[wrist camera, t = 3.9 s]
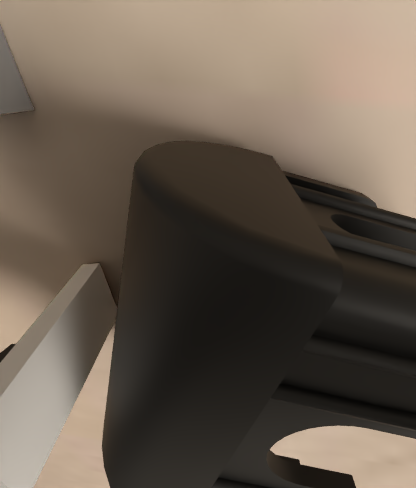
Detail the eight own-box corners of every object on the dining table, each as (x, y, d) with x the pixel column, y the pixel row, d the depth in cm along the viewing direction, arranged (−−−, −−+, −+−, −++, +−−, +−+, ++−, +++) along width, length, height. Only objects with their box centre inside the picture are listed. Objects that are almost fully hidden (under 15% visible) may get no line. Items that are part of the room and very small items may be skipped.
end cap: (174, 123, 8) (54, 199, 3) (383, 182, 9) (680, 360, 3) (136, 335, 13) (65, 527, 8) (272, 366, 14) (304, 569, 8)
